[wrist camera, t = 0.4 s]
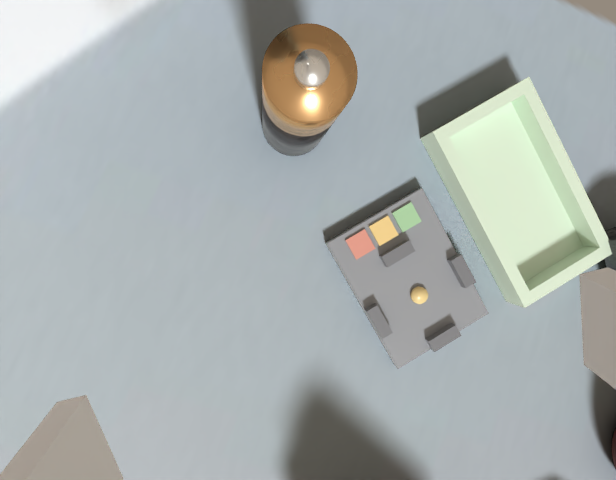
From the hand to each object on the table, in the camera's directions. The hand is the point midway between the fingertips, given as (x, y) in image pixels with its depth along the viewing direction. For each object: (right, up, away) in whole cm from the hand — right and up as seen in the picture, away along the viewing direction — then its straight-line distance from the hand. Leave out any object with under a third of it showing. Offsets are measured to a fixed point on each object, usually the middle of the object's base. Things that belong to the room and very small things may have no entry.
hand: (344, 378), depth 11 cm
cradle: (+7, 0, +24) cm, 25 cm away
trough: (+16, +7, +25) cm, 31 cm away
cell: (-2, +13, +23) cm, 26 cm away
